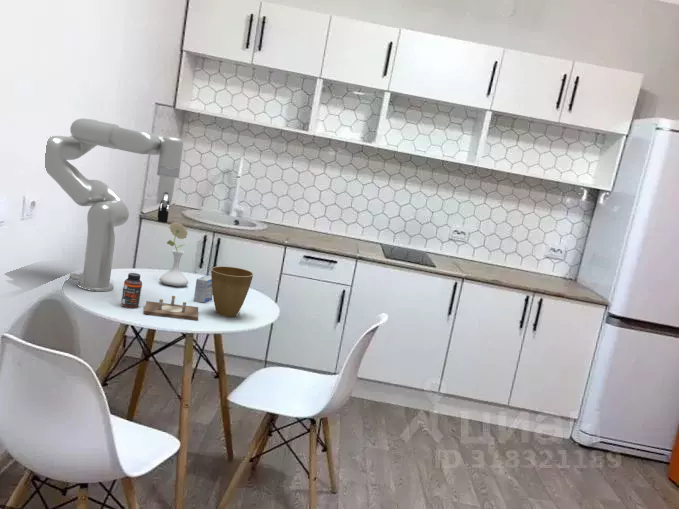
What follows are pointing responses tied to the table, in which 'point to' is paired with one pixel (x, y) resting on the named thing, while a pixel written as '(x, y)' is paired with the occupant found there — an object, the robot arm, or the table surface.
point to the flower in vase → (175, 258)
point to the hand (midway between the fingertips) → (162, 220)
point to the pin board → (171, 310)
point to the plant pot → (229, 289)
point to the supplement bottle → (131, 291)
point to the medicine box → (203, 289)
